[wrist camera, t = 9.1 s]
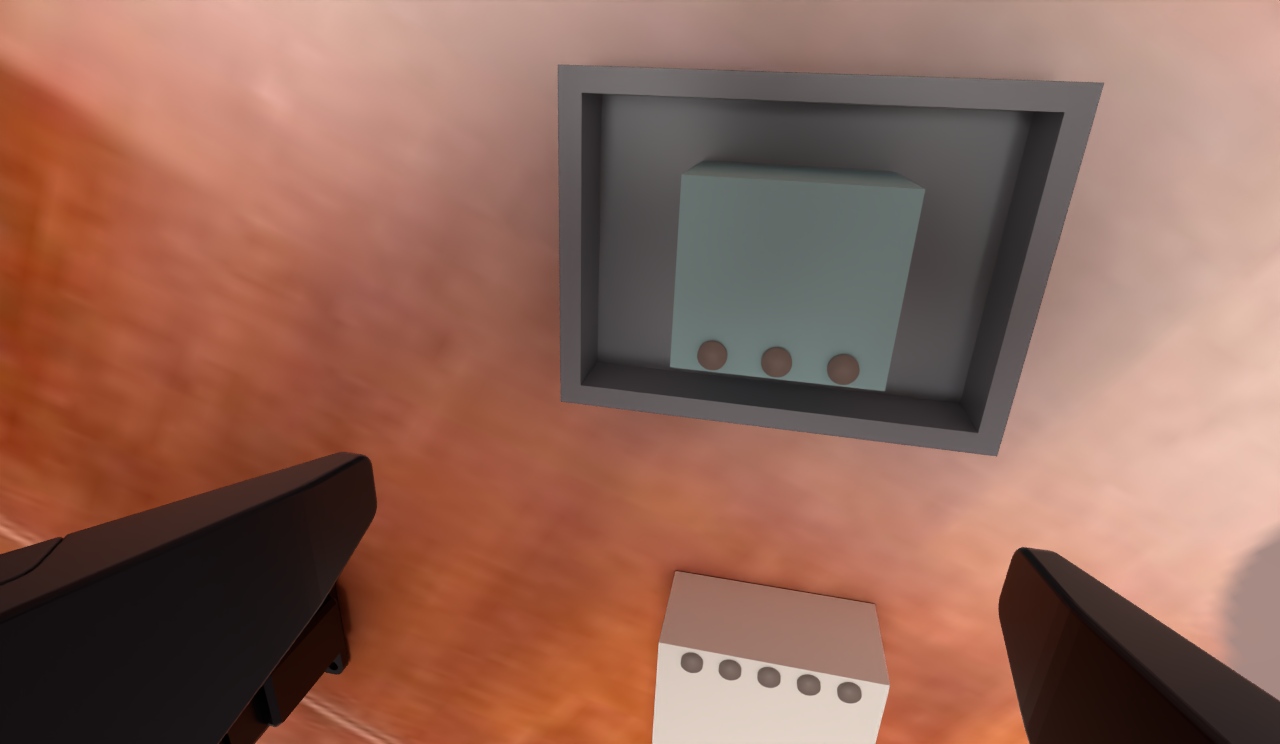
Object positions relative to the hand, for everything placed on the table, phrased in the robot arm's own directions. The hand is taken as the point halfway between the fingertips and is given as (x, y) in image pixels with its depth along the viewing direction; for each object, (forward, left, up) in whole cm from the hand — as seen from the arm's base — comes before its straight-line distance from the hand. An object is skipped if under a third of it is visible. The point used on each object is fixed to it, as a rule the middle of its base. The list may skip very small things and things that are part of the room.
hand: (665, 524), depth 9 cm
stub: (+1, +2, -11) cm, 11 cm away
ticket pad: (+3, -16, -12) cm, 20 cm away
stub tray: (+2, +2, -12) cm, 12 cm away
